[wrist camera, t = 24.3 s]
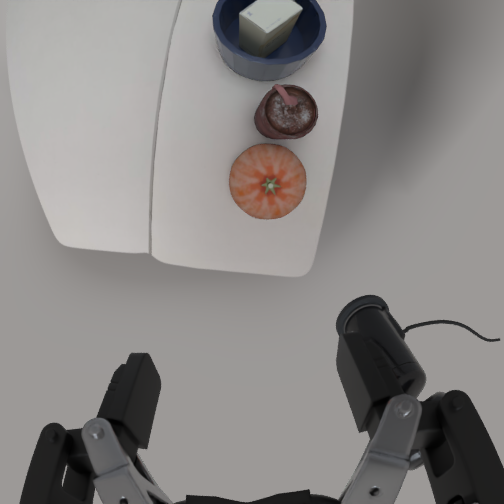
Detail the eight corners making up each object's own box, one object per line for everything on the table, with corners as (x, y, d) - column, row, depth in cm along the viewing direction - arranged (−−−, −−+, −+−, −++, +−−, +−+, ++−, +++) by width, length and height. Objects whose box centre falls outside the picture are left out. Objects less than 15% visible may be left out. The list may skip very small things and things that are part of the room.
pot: (301, 9, 30) (316, -19, 20) (312, 79, 35) (333, 65, 26) (215, 12, 30) (209, -17, 20) (223, 85, 35) (217, 69, 26)
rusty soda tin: (277, 92, 36) (295, 70, 23) (302, 124, 38) (331, 119, 25) (244, 114, 37) (247, 101, 24) (270, 146, 39) (285, 150, 26)
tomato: (249, 222, 44) (251, 240, 37) (217, 162, 40) (212, 167, 33) (310, 194, 42) (325, 206, 35) (282, 131, 38) (292, 130, 31)
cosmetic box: (258, 63, 33) (266, 36, 22) (237, 45, 32) (236, 13, 21) (288, 40, 32) (305, 8, 21) (266, 23, 30) (276, -13, 19)
